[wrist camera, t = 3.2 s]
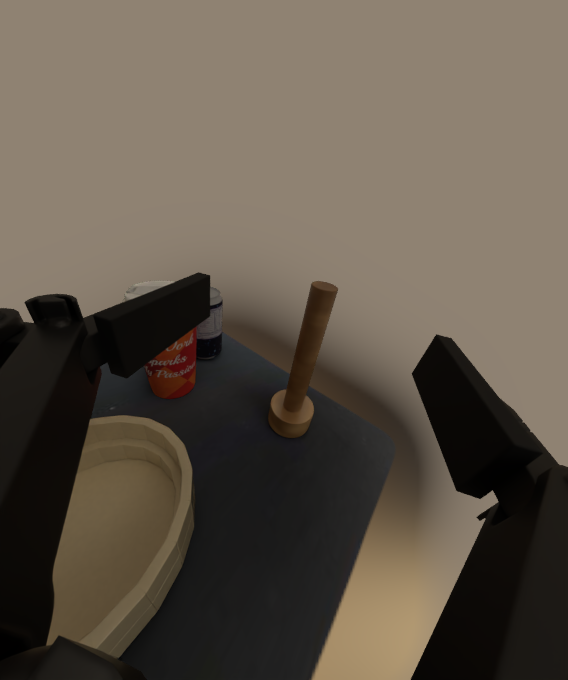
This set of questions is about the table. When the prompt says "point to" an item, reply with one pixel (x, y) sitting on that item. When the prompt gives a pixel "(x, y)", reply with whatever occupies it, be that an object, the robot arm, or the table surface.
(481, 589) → the robot arm
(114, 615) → the bowl
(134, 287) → the coffee cup
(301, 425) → the brown tall rod post
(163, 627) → the table surface
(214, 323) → the beverage can
